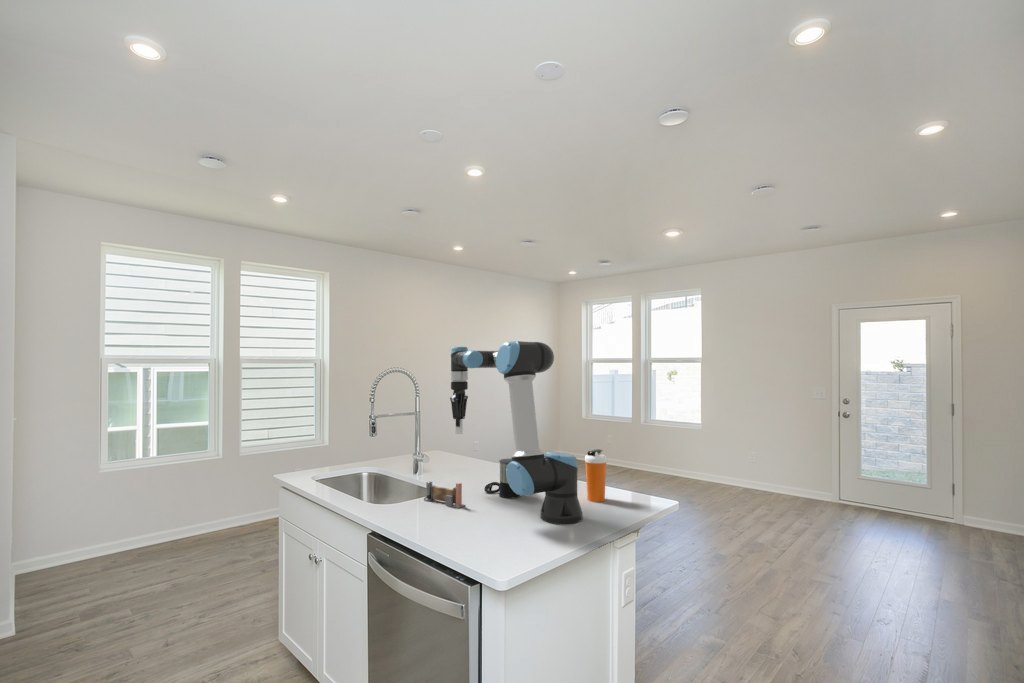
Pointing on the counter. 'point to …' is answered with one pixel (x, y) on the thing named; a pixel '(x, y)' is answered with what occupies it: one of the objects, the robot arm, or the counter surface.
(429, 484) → the hinge post
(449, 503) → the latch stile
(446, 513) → the counter surface
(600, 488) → the shaker bottle
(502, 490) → the corded kitchen appliance
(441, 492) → the gate
